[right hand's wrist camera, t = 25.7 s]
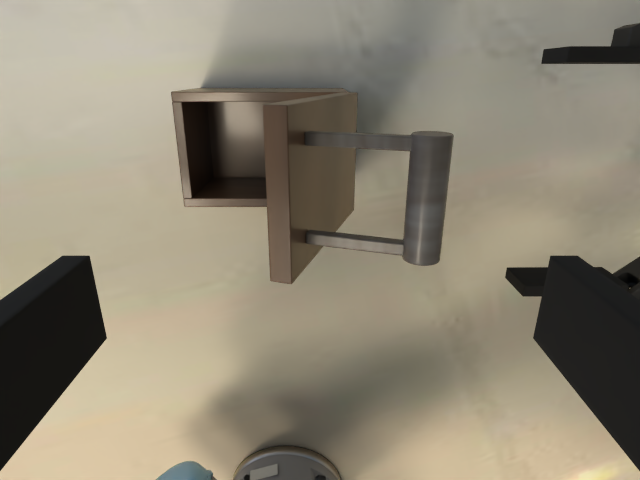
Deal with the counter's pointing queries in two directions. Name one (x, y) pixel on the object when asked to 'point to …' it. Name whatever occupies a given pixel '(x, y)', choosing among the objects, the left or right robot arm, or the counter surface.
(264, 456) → the left robot arm
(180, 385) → the counter surface
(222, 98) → the chest
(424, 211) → the lid
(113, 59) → the counter surface
